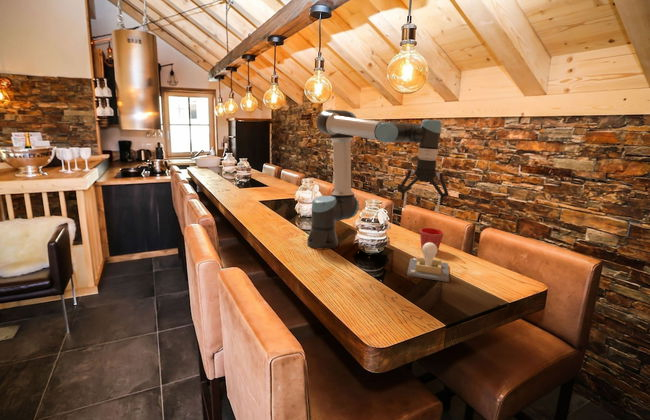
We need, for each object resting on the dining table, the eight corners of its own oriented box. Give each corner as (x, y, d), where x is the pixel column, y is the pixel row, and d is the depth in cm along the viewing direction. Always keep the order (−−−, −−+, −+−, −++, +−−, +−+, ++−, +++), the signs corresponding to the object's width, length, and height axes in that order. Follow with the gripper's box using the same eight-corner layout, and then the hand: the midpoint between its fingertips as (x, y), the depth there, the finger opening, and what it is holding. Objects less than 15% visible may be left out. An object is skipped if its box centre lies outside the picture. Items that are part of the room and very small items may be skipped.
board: (407, 275, 143) (407, 267, 142) (410, 260, 160) (411, 252, 159) (448, 282, 139) (449, 273, 138) (447, 265, 155) (448, 257, 155)
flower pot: (442, 254, 168) (444, 235, 166) (418, 252, 170) (420, 232, 168) (440, 247, 178) (442, 228, 176) (417, 245, 180) (419, 226, 178)
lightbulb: (427, 271, 145) (429, 245, 143) (417, 266, 150) (419, 241, 148) (438, 269, 147) (441, 244, 145) (428, 264, 153) (431, 240, 151)
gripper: (394, 157, 144) (389, 207, 149) (460, 162, 137) (452, 215, 142) (397, 155, 151) (391, 204, 156) (459, 160, 144) (451, 211, 149)
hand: (420, 209), depth 149 cm, fingers open, 13 cm apart
